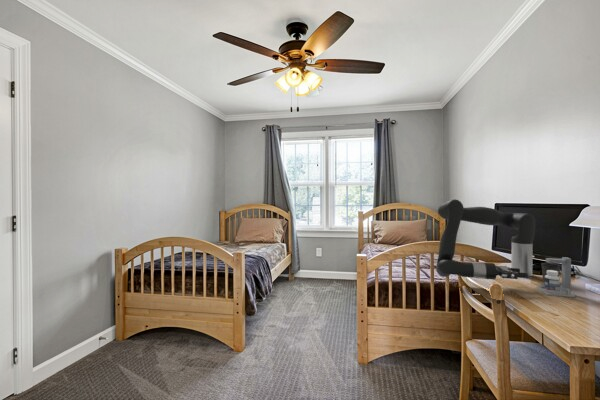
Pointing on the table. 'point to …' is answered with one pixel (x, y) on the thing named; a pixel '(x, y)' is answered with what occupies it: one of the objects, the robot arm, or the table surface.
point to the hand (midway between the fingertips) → (523, 273)
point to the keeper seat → (566, 278)
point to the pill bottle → (552, 281)
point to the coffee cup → (550, 268)
